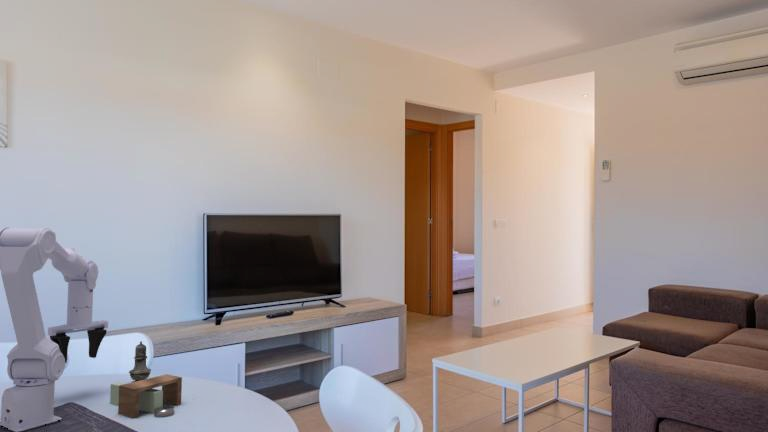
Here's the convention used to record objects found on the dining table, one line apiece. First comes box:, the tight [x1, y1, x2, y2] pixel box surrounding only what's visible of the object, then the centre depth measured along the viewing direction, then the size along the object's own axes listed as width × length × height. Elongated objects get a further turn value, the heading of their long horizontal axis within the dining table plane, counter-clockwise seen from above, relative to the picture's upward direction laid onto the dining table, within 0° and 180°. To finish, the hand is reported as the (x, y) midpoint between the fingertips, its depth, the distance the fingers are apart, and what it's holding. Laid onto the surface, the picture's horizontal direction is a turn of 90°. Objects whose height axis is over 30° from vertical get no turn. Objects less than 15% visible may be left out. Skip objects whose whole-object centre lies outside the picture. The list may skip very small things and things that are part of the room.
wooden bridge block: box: [117, 373, 183, 419], centre depth 130 cm, size 13×6×7 cm, turn 149°
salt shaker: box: [128, 341, 152, 383], centre depth 153 cm, size 6×6×12 cm
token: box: [153, 405, 175, 418], centre depth 126 cm, size 4×4×2 cm
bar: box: [109, 381, 164, 414], centre depth 132 cm, size 2×16×5 cm, turn 62°
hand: (78, 360), depth 138 cm, fingers open, 7 cm apart
